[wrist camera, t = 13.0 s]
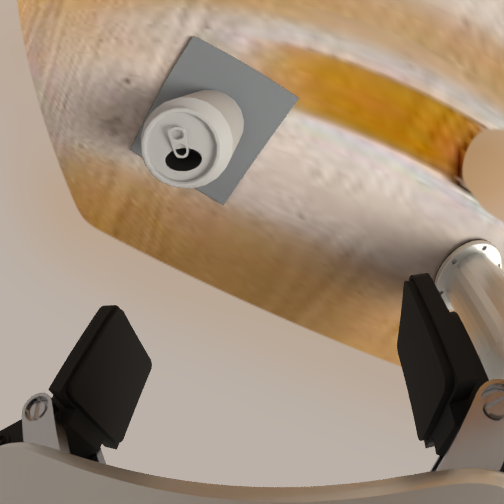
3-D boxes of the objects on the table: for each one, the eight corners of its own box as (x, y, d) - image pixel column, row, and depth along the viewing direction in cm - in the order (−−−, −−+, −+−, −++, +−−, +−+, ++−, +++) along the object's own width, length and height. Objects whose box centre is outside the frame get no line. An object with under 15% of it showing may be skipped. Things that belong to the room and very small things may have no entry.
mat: (298, 97, 31) (299, 98, 30) (224, 203, 38) (223, 205, 37) (194, 36, 27) (193, 36, 27) (132, 148, 35) (130, 149, 34)
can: (181, 158, 34) (142, 200, 24) (172, 94, 30) (124, 108, 20) (247, 152, 34) (235, 193, 24) (241, 85, 30) (224, 92, 20)
